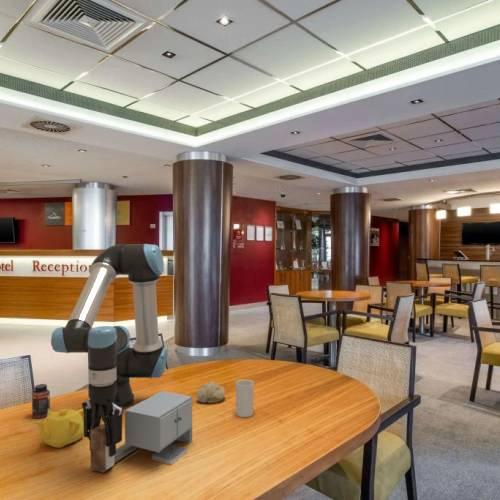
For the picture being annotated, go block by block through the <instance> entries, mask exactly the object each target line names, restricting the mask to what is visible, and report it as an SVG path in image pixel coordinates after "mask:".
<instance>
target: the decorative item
mask: <svg viewBox="0 0 500 500" xmlns="http://www.w3.org/2000/svg"><path fill="white" fill-rule="evenodd" d="M225 395H226V389H225V388H224V387H223V386H220V384H218V383H217V382H216V381H209V382H207V383H205V384H203V385H202V386H201V387H199V389H198V390H197V393H196V398H197V401H198V402H200V403H203V404H204V403H209V404H215V403H219V402H221V401H223V400H224V398H225Z"/></svg>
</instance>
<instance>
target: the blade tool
mask: <svg viewBox="0 0 500 500" xmlns="http://www.w3.org/2000/svg"><path fill="white" fill-rule="evenodd" d="M106 444H108V443H107V437H106V431H105V426H104V423H100V426H98V427H96V428H94V429H92V430H91V451H90V470H92V471H95V472H98V473H99V472H100V473H102V474H104V473H105V472H106V471H108V470H109V469H111V468H112V467H114V466H115V463H117V462H118V461H120V460H121V459H123V458H125V456H127V455H129V454H130V453H132V452H134V451H135V450H137V449H138V448H139V447H135V446H131V445H127V444H125V443H123V444H122V445H120V446H118V447H116V454H115V455H114V465H113V466H112V467H110V468H109V469H105V445H106Z"/></svg>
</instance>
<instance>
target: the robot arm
mask: <svg viewBox="0 0 500 500" xmlns="http://www.w3.org/2000/svg"><path fill="white" fill-rule="evenodd" d="M164 266H165V263H164V256H163V253H162V250H161V248H160V247H159V246H158V245H157V244H150V243H149V244H148V243H136V244H135V243H133V244H132V243H131V244H129V243H128V244H127V243H126V244H124V243H120V244H114V245H111V246H109V247H107V248H106V249H104V250H103V251H102V252H100V253H99V254H98V255H97V256H96V257H95V258H94V260H93V261H92V263H91V265H90V267H89V276H88V278H87V280H86V282H85V284H84V286H83V289H82V291H81V293H80V295H79V298H78V299H77V302H76V304H75V306H74V307H73V311H72V312H71V314H70V316H69V319H68V320H67V323H66V325H65V326H64V327H63V326H61V327H57V328H55V329H54V330H53V332H52V334H51V339H50V345H51V347H52V350H53V351H54V352H55V353H64V354H72V353H73V354H74V353H75V354H77V353H78V354H79V353H80V354H81V353H82V354H83V353H88V383H89V384H88V386H87V387H88V389H87V390H88V391H87V392H88V396H87V397H88V399H89V400H86V401H84V402H82V403H81V405H82V408H83V411H84V418H83V422H84V434H83V437H84V438H88V441H89V451H90V452H91V430H92V429H94V428H96V427H98V426H100V425H101V421H102V422H103V424H104V426H105V431H106V437H107V443H108V444H106V445H105V469H108V470H109V469H111V468H112V467H114V466H115V463H114V455H115V454H116V449H117V444H119V443H120V442H122V441H123V415H124V414H123V413H124V412H125V411H124V410H125V408H127V407H128V408H129V406H130V407H131V405H133V404H134V403H135V395H134V393H133V390H132V387H131V383H130V378H131V379H133V378H134V379H138V378H139V379H141V378H142V379H155V378H162V376H164V373H165V371H166V366H167V360H168V354H169V352H168V348H167V347H164V346H163V341H161V340H160V339H159V327H158V326H159V325H158V323H159V322H158V303H157V284H156V283H157V282H159V280H160V276H162V275H163V274H164V269H165V268H164ZM120 275H122V276H125V275H126V276H127V278H128V282H129V283H130V284H132V291H133V293H132V294H133V307H134V308H133V310H134V311H133V312H134V321H135V322H134V326H135V339H136V340H135V342H134V344H133V345H132V347H131V345H130V344H129V343H130V341H131V333H130V331H129V329H128V328H127V327H125V326H124V325H113V326H112V325H111V326H109V325H103V326H101V325H100V326H96V327H93V325H94V324H95V321H96V318H97V316H98V314H99V311H100V309H101V306H102V303H103V302H104V299H105V296H106V295H107V292H108V290H109V286H110V285H111V282H113V281H115V280H116V278H117V276H120ZM113 465H114V466H113ZM110 467H111V468H110Z"/></svg>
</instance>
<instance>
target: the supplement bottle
mask: <svg viewBox="0 0 500 500" xmlns="http://www.w3.org/2000/svg"><path fill="white" fill-rule="evenodd" d="M50 394H51V392H50V390H49V389H48V385H47V384H46V383H40V384H37V385H35V386H34V391H33V392H32V395H31V417H32V418H33V419H43V417H44V418H46V417H47V413H48V412H50V411H51V399H50V398H51V395H50Z"/></svg>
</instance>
